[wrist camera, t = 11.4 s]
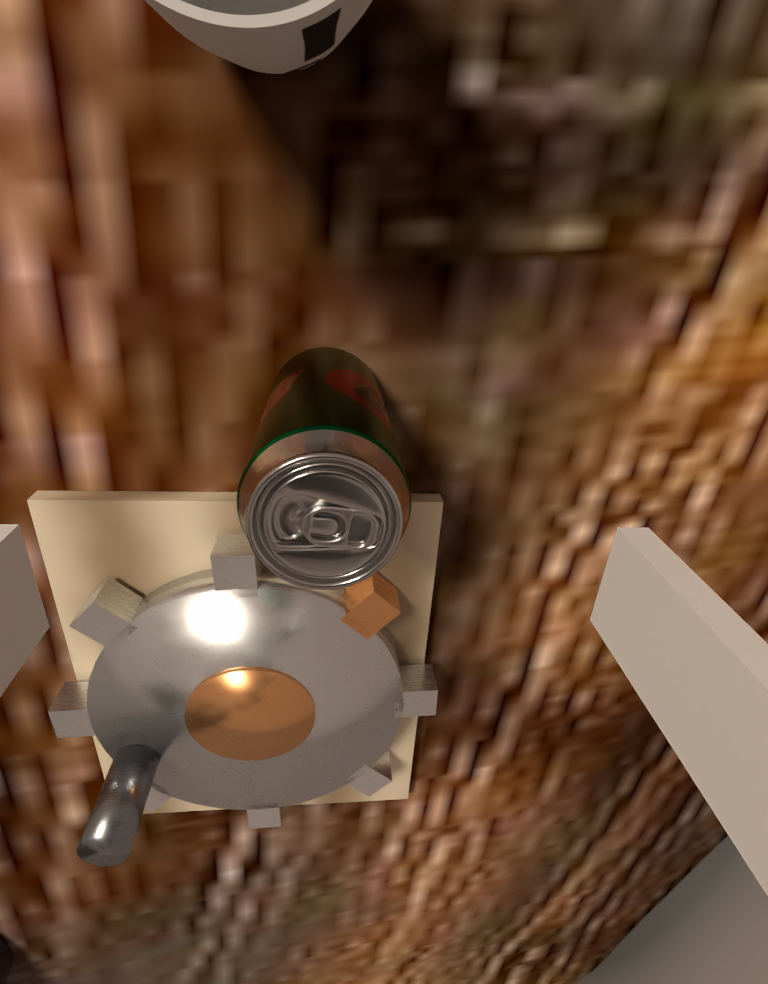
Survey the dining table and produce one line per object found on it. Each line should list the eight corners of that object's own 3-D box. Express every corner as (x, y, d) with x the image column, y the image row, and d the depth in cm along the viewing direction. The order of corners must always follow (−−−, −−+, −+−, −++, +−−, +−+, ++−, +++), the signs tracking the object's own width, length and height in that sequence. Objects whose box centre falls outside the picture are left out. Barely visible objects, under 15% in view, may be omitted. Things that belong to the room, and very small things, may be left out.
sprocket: (272, 835, 37) (261, 957, 31) (-12, 699, 29) (-103, 826, 23) (499, 672, 32) (540, 779, 26) (229, 453, 24) (195, 531, 18)
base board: (120, 800, 36) (113, 819, 35) (37, 490, 26) (23, 503, 25) (405, 785, 39) (408, 802, 37) (439, 493, 28) (444, 505, 27)
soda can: (278, 335, 23) (236, 426, 13) (388, 354, 24) (435, 455, 14) (267, 440, 26) (224, 592, 15) (369, 454, 26) (397, 608, 16)
